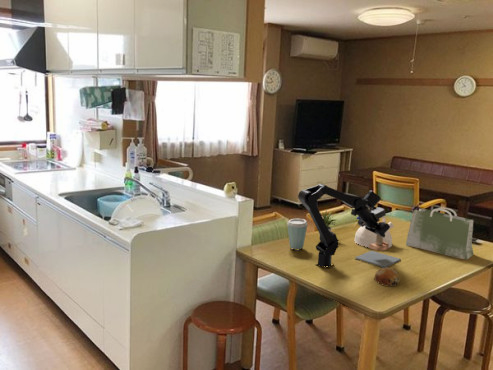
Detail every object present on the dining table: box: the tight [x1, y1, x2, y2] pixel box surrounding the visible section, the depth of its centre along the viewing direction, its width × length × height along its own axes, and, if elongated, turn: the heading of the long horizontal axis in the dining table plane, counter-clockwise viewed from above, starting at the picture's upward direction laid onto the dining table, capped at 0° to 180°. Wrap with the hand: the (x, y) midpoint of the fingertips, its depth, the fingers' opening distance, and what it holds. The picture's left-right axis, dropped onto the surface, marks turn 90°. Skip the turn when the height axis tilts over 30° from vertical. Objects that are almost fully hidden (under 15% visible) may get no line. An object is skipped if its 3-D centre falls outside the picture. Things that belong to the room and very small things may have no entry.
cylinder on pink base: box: [369, 221, 389, 252], centre depth 216 cm, size 7×5×13 cm
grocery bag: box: [405, 206, 474, 260], centre depth 236 cm, size 32×14×23 cm, turn 50°
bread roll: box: [374, 267, 400, 287], centre depth 191 cm, size 10×10×8 cm
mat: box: [354, 250, 401, 268], centre depth 218 cm, size 16×16×1 cm
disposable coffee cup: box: [286, 217, 309, 250], centre depth 229 cm, size 11×11×15 cm
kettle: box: [353, 215, 395, 249], centre depth 243 cm, size 20×21×18 cm
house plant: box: [320, 209, 338, 232], centre depth 248 cm, size 14×14×16 cm
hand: (382, 235), depth 216 cm, fingers closed on cylinder on pink base, 3 cm apart
